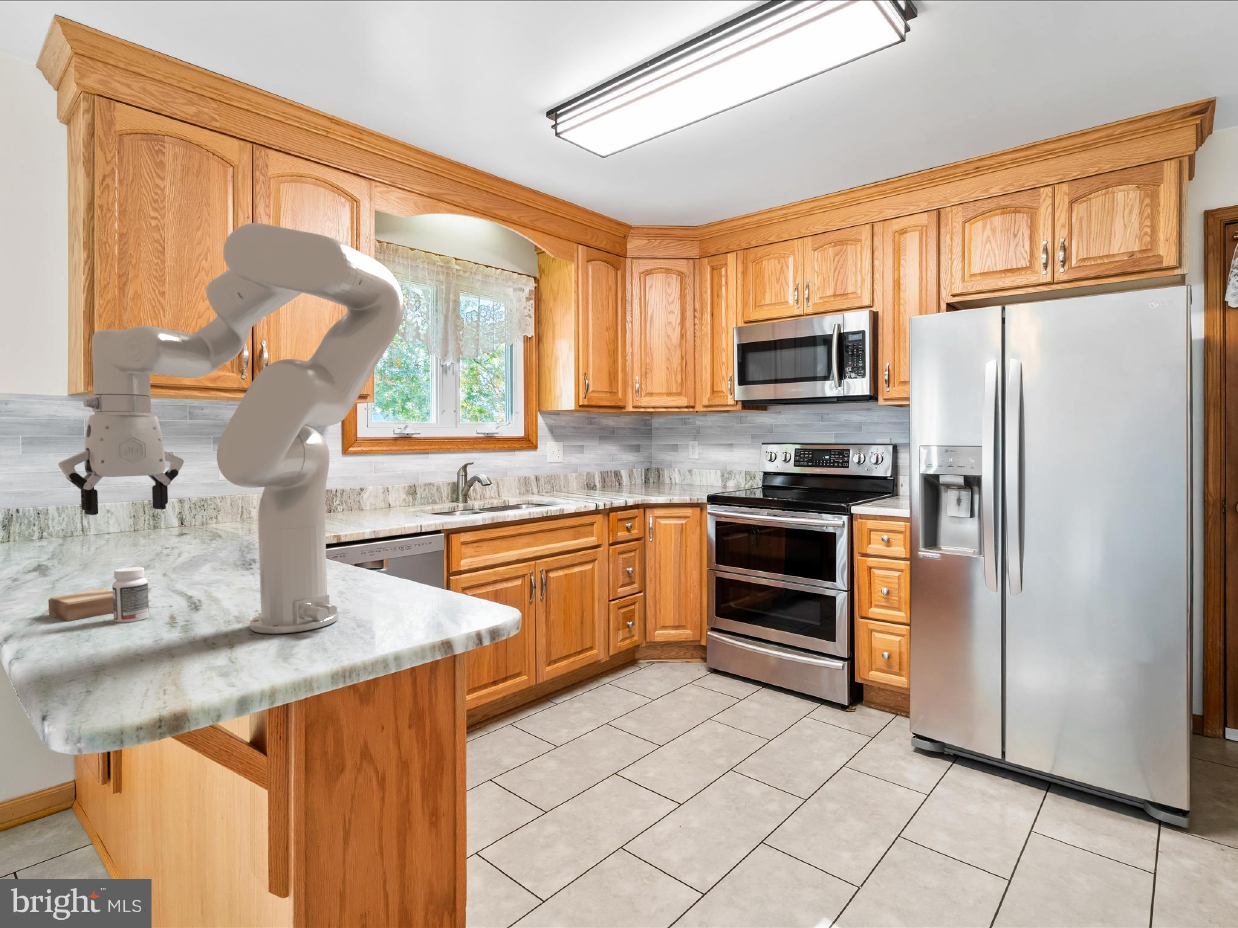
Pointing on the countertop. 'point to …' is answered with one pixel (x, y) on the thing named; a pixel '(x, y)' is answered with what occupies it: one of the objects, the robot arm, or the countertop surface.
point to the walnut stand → (81, 605)
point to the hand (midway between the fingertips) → (126, 511)
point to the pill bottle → (130, 595)
